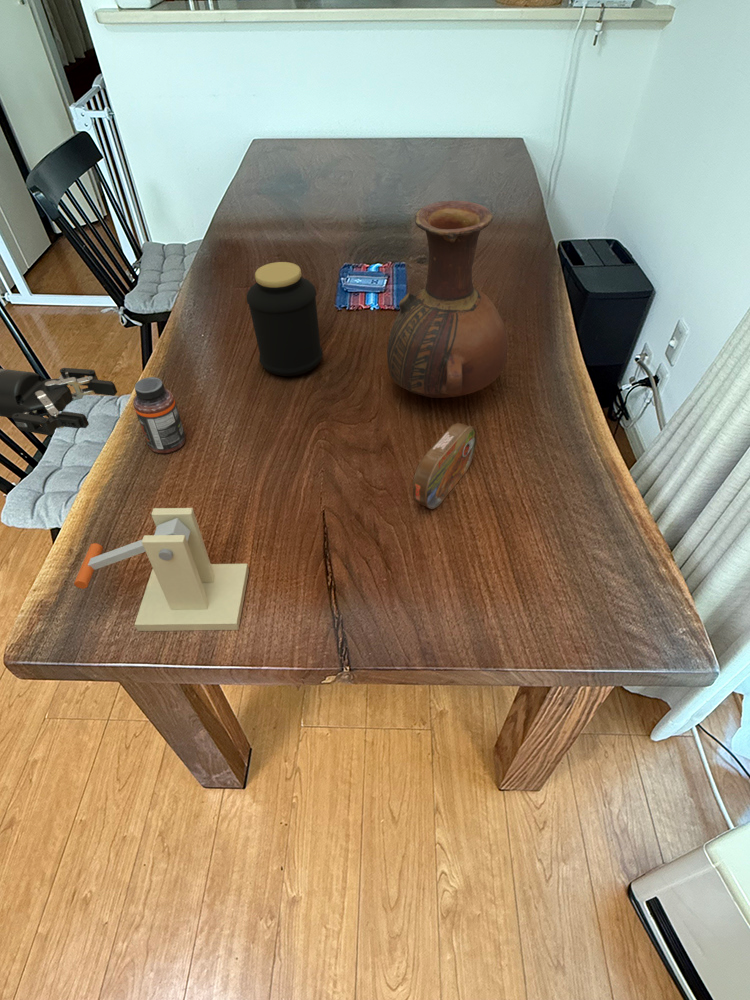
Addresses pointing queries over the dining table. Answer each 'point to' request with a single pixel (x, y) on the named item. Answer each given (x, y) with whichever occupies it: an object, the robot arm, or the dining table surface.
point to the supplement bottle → (158, 416)
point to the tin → (444, 465)
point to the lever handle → (122, 552)
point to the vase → (448, 312)
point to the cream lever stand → (188, 582)
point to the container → (285, 319)
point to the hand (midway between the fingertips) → (101, 404)
